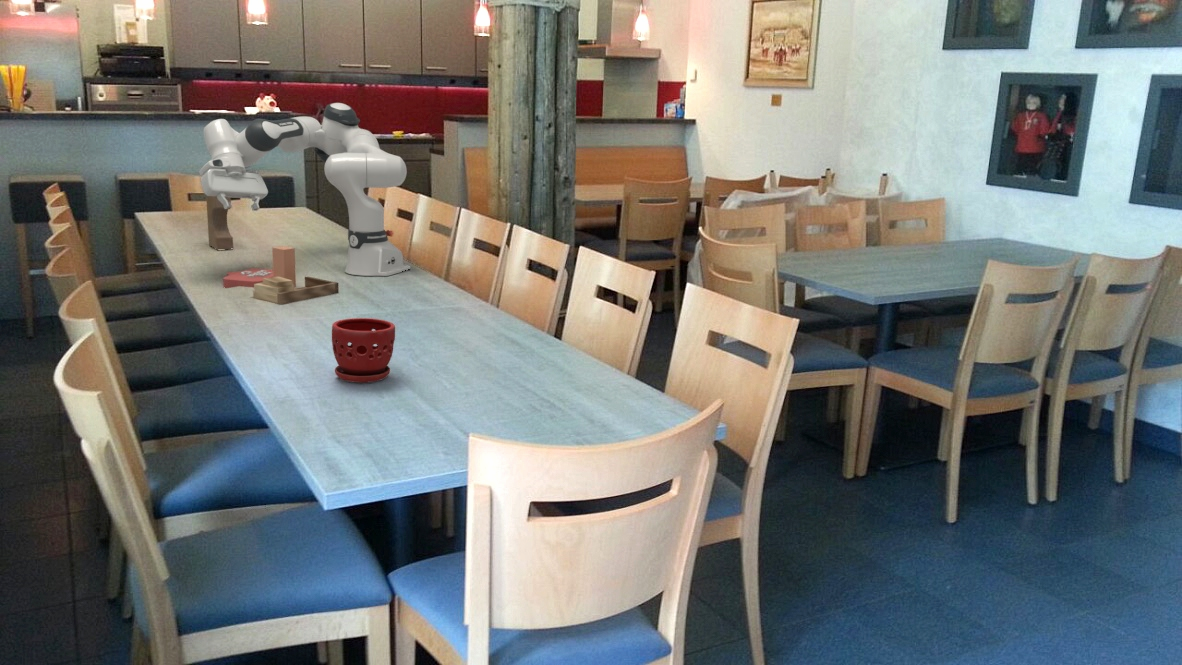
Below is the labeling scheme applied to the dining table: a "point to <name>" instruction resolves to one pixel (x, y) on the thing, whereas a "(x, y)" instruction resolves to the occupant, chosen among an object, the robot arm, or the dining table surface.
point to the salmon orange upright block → (284, 263)
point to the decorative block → (218, 224)
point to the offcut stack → (272, 288)
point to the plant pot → (362, 349)
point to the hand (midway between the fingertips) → (242, 209)
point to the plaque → (246, 277)
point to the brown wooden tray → (307, 291)
